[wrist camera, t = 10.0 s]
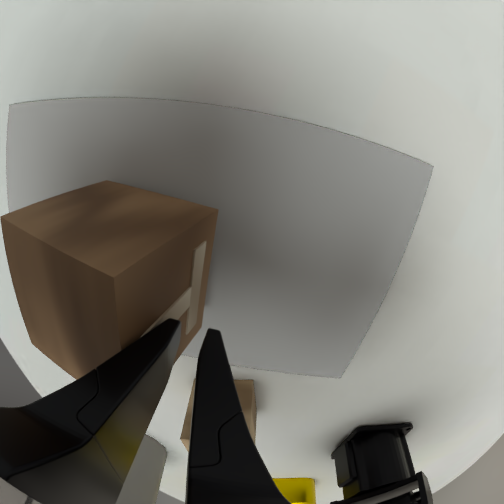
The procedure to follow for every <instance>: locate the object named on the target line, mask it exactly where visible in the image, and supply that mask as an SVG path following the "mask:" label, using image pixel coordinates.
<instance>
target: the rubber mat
mask: <svg viewBox="0 0 504 504" xmlns="http://www.w3.org/2000/svg"><path fill="white" fill-rule="evenodd" d="M433 167H434V166H432V165H430V164H427V163H425V162H423V161H420V160H418V159H415V158H413V157H410V156H408V155H405V154H403V153H400V152H398V151H395V150H392V149H390V148H387V147H384V146H381V145H378V144H376V143H373V142H370V141H367V140H364V139H361V138H358V137H355V136H351V135H348V134H345V133H342V132H338V131H335V130H331V129H328V128H324V127H321V126H317V125H313V124H309V123H305V122H301V121H297V120H293V119H289V118H284V117H280V116H275V115H270V114H266V113H261V112H255V111H250V110H244V109H239V108H232V107H226V106H219V105H212V104H204V103H196V102H187V101H177V100H165V99H149V98H123V97H93V98H68V99H54V100H42V101H33V102H25V103H18V104H11V105H9V113H8V125H7V145H6V175H7V195H8V207H9V213H10V212H13V211H16V210H18V209H21V208H23V207H26V206H29V205H31V204H34V203H37V202H39V201H42V200H45V199H48V198H51V197H54V196H57V195H60V194H63V193H66V192H69V191H72V190H75V189H78V188H82V187H85V186H88V185H92V184H95V183H99V182H102V181H106V180H108V181H112V182H116V183H120V184H124V185H128V186H132V187H136V188H140V189H144V190H148V191H152V192H156V193H160V194H163V195H167V196H171V197H175V198H179V199H182V200H186V201H190V202H193V203H197V204H201V205H204V206H208V207H212V208H215V209H219V211H218V217H217V223H216V229H215V235H214V242H213V248H212V255H211V262H210V269H209V276H208V283H207V290H206V297H205V305H204V312H203V320H202V327H201V329H200V330H199V331H198V333H197V334H196V335H195V337H194V338H193V339H192V341H191V342H190V343H189V345H188V346H187V347H186V349H185V350H184V351H183V353H182V354H181V355H186V356H190V357H194V358H198V356H199V352H200V349H201V346H202V343H203V340H204V338H205V335H206V332H207V329H208V328H212V329H216V330H220V331H221V334H222V338H223V342H224V346H225V350H226V353H227V357H228V361H229V364H230V365H235V366H241V367H247V368H253V369H260V370H267V371H274V372H281V373H289V374H298V375H308V376H318V377H330V378H341V377H342V375H343V373H344V372H345V370H346V368H347V367H348V365H349V363H350V362H351V360H352V358H353V356H354V355H355V353H356V351H357V349H358V348H359V346H360V344H361V342H362V340H363V339H364V337H365V335H366V333H367V331H368V329H369V327H370V326H371V324H372V322H373V320H374V318H375V316H376V314H377V312H378V310H379V308H380V306H381V304H382V302H383V300H384V297H385V295H386V293H387V291H388V289H389V287H390V285H391V282H392V280H393V278H394V276H395V273H396V271H397V269H398V267H399V264H400V262H401V259H402V257H403V255H404V252H405V250H406V247H407V245H408V242H409V239H410V237H411V234H412V232H413V229H414V226H415V223H416V221H417V218H418V215H419V212H420V209H421V206H422V203H423V200H424V197H425V194H426V191H427V188H428V184H429V181H430V178H431V174H432V171H433Z"/></svg>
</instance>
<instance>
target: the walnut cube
mask: <svg viewBox="0 0 504 504" xmlns="http://www.w3.org/2000/svg"><path fill="white" fill-rule="evenodd" d="M218 211H219V209H215V208H212V207H208V206H204V205H201V204H197V203H193V202H190V201H186V200H182V199H179V198H175V197H171V196H167V195H163V194H160V193H156V192H152V191H148V190H144V189H140V188H136V187H132V186H128V185H124V184H120V183H116V182H112V181H108V180H106V181H102V182H99V183H95V184H92V185H88V186H85V187H82V188H78V189H75V190H72V191H69V192H66V193H63V194H60V195H57V196H54V197H51V198H48V199H45V200H42V201H39V202H37V203H34V204H31V205H29V206H26V207H23V208H21V209H18V210H16V211H13V212H10V213H8V214H6V215H3V216H1V225H2V232H3V238H4V244H5V250H6V255H7V260H8V265H9V269H10V274H11V278H12V282H13V286H14V290H15V293H16V297H17V301H18V304H19V307H20V311H21V314H22V317H23V320H24V323H25V326H26V329H27V332H28V334H29V337H30V340H31V342H32V344H33V345H34V346H35V347H36V348H38V349H39V350H40V351H41V352H42V353H43V354H45V355H46V356H47V357H48V358H49V359H51V360H52V361H53V362H54V363H56V364H57V365H58V366H59V367H61V368H62V369H63V370H64V371H66V372H67V373H68V374H70V375H71V376H72V377H74V378H75V379H76V380H77V379H79V378H81V377H82V376H84V375H85V374H87V373H88V372H90V371H91V370H93V369H96V367H97V366H99V365H100V364H102V363H103V362H105V361H106V360H108V359H109V358H111V357H112V356H114V355H115V354H117V353H118V352H120V351H121V350H123V349H124V348H126V347H127V346H128V345H130V344H131V343H133V342H134V341H136V340H137V339H139V338H140V337H142V336H143V335H145V334H146V333H148V332H149V331H151V330H152V329H153V328H155V327H156V326H158V325H159V324H161V323H162V322H164V321H165V320H167V319H168V318H173V319H176V320H180V321H181V337H180V343H179V347H178V350H177V353H176V357H175V360H174V363H175V362H176V361H177V359H178V358H179V357H180V355H181V354H182V353H183V351H184V350H185V349H186V347H187V346H188V345H189V343H190V342H191V341H192V339H193V338H194V337H195V335H196V334H197V333H198V331H199V330H200V329H201V327H202V320H203V312H204V305H205V297H206V290H207V283H208V276H209V269H210V262H211V255H212V248H213V242H214V235H215V229H216V223H217V217H218ZM174 363H173V365H174Z"/></svg>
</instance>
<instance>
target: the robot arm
mask: <svg viewBox="0 0 504 504" xmlns="http://www.w3.org/2000/svg"><path fill="white" fill-rule="evenodd" d="M180 337H181V321H180V320H176V319H173V318H168V319H167V320H165V321H164V322H162V323H161V324H159V325H158V326H156V327H155V328H153V329H152V330H151V331H149V332H148V333H146V334H145V335H143V336H142V337H140V338H139V339H137V340H136V341H134V342H133V343H131V344H130V345H128V346H127V347H126V348H124V349H123V350H121V351H120V352H118V353H117V354H115V355H114V356H112V357H111V358H109V359H108V360H106V361H105V362H103V363H102V364H100V365H99V366H97V367H96V369H93V370H91V371H90V372H88V373H87V374H85V375H84V376H82V377H81V378H79V379H77V380H76V381H74V382H72V383H71V384H69V385H67V386H65V387H63V388H61V389H59V390H57V391H55V392H53V393H51V394H49V395H47V396H45V397H43V398H42V399H39V400H37V401H35V402H33V403H31V404H28V405H25V406H21V407H0V504H116V502H117V499H118V497H119V494H120V492H121V490H122V487H123V483H124V482H125V480H126V477H127V475H128V473H129V470H130V468H131V465H132V463H133V461H134V458H135V456H136V454H137V451H138V449H139V447H140V444H141V442H142V440H143V437H144V435H145V433H146V431H147V428H148V426H149V424H150V421H151V419H152V417H153V415H154V412H155V410H156V408H157V405H158V403H159V401H160V399H161V396H162V394H163V392H164V390H165V387H166V385H167V383H168V380H169V377H170V373H171V370H172V367H173V363H174V360H175V357H176V353H177V350H178V347H179V343H180ZM412 428H413V425H412V424H411V423H409V424H399V425H387V426H370V427H359V428H357V429H356V430H355V431H354V432H353V433H352V434H351V435H350V436H349V437H348V438H347V439H346V440H345V441H344V442H343V443H342V444H341V445H340V446H339V447H338V448H337V449H336V450H335V451H334V452H333V453H332V454H331V459H335V466H336V474H337V483H338V486H339V487H340V488H341V487H343V495H344V500H341V501H334V502H331V503H330V504H433V499H432V493H431V490H430V486H429V483H428V479H427V477H426V476H425V475H424V473H423V472H422V471H421V472H418V473H416V474H415V471H414V467H413V463H412V459H411V456H410V452H409V449H408V445H407V442H406V438H405V435H406V434H407V433H408V432H409V431H410V430H411V429H412ZM417 488H419V491H418V492H415V493H413V492H412V490H415V489H417ZM185 504H291V503H290V502H289V501H288V500H287V499H286V498H285V497H284V496H283V495H282V493H281V492H280V491H279V489H278V488H277V486H276V484H275V483H274V481H273V479H272V477H271V475H270V473H269V472H268V470H267V468H266V466H265V464H264V462H263V460H262V458H261V456H260V454H259V452H258V450H257V448H256V446H255V444H254V441H253V439H252V437H251V434H250V432H249V429H248V426H247V423H246V420H245V417H244V413H243V412H242V407H241V404H240V400H239V397H238V393H237V390H236V386H235V383H234V379H233V376H232V372H231V368H230V365H229V361H228V357H227V353H226V350H225V346H224V342H223V338H222V334H221V331H220V330H216V329H212V328H208V329H207V332H206V335H205V338H204V340H203V343H202V346H201V349H200V352H199V356H198V363H197V371H196V380H195V388H194V398H193V407H192V418H191V429H190V440H189V453H188V466H187V481H186V498H185Z"/></svg>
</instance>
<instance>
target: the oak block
mask: <svg viewBox="0 0 504 504" xmlns="http://www.w3.org/2000/svg"><path fill="white" fill-rule="evenodd" d="M195 380H196V379H194V383H193V387H192V391H191V395H190V399H189V403H188V408H187V412H186V416H185V420H184V425H183V429H182V433H181V438H180V439H181V441H182V443H183V444H184V446H185V447H186V449H187V451H188V452H189V440H190V429H191V418H192V407H193V398H194V388H195ZM234 383H235V386H236V390H237V393H238V397H239V400H240V404H241V407H242V412H243V413H244V417H245V420H246V423H247V426H248V429H249V432H250V434H251V437H252V439H253V441H254V444H255V436H256V412H257V410H256V402H255V393H254V384H253V380H234Z"/></svg>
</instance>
